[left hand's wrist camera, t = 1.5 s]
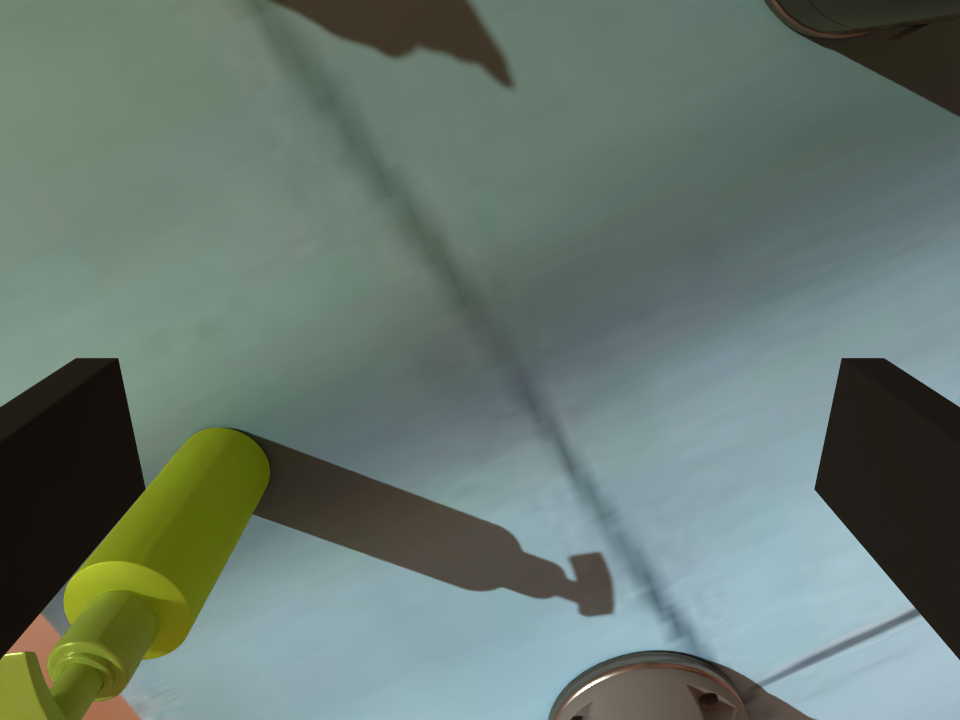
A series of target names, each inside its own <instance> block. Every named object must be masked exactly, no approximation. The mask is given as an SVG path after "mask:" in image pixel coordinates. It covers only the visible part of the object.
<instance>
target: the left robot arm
mask: <svg viewBox="0 0 960 720" xmlns="http://www.w3.org/2000/svg"><path fill="white" fill-rule="evenodd" d="M144 491H145V484H144V479H143V475H142V470H141V465H140V460H139V455H138V451H137V446H136V441H135V436H134V432H133V427H132V422H131V417H130V412H129V408H128V403H127V398H126V393H125V389H124V384H123V379H122V374H121V369H120V365H119V360H118V358H76V359H74V360H73V361H71V362H69V363H68V364H66V365H65V366H63V367H62V368H60V369H59V370H57V371H56V372H54V373H52V374H51V375H49V376H48V377H46V378H45V379H43V380H42V381H40V382H39V383H37V384H35V385H34V386H32V387H31V388H29V389H28V390H26V391H25V392H23V393H22V394H20V395H18V396H17V397H15V398H14V399H12V400H11V401H9V402H8V403H6V404H5V405H3V406H1V407H0V660H1V658H2V657H3V656H4V655H5V654H6V653H7V651H8V650H9V649H10V648H11V647H12V646H13V644H14V643H15V642H16V641H17V640H18V638H19V637H20V636H21V635H22V634H23V633H24V631H25V630H26V629H27V628H28V627H29V626H30V624H31V623H32V622H33V621H34V620H35V619H36V617H37V616H38V615H39V614H40V613H41V611H42V610H43V609H44V608H45V607H46V606H47V604H48V603H49V602H50V601H51V600H52V599H53V597H54V596H55V595H56V594H57V593H58V592H59V590H60V589H61V588H62V587H63V586H64V584H65V583H66V582H67V581H68V580H69V579H70V577H71V576H72V575H73V574H74V573H75V572H76V570H77V569H78V568H79V567H80V566H81V565H82V563H83V562H84V561H85V560H86V559H87V557H88V556H89V555H90V554H91V553H92V552H93V550H94V549H95V548H96V547H97V546H98V545H99V543H100V542H101V541H102V540H103V539H104V538H105V536H106V535H107V534H108V533H109V532H110V530H111V529H112V528H113V527H114V526H115V525H116V523H117V522H118V521H119V520H120V519H121V518H122V516H123V515H124V514H125V513H126V512H127V511H128V509H129V508H130V507H131V506H132V505H133V503H134V502H135V501H136V500H137V499H138V498H139V496H140V495H141V494H142V493H143V492H144ZM815 491H816V492H817V493H818V494H819V495H820V496H821V498H822V499H823V500H824V501H825V502H826V503H827V505H828V506H829V507H830V508H831V509H832V511H833V512H834V513H835V514H836V515H837V516H838V518H839V519H840V520H841V521H842V522H843V523H844V525H845V526H846V527H847V528H848V529H849V530H850V532H851V533H852V534H853V535H854V536H855V538H856V539H857V540H858V541H859V542H860V543H861V545H862V546H863V547H864V548H865V549H866V550H867V552H868V553H869V554H870V555H871V556H872V557H873V559H874V560H875V561H876V562H877V563H878V565H879V566H880V567H881V568H882V569H883V570H884V572H885V573H886V574H887V575H888V576H889V577H890V579H891V580H892V581H893V582H894V583H895V584H896V586H897V587H898V588H899V589H900V590H901V592H902V593H903V594H904V595H905V596H906V597H907V599H908V600H909V601H910V602H911V603H912V604H913V606H914V607H915V608H916V609H917V610H918V611H919V613H920V614H921V615H922V616H923V617H924V619H925V620H926V621H927V622H928V623H929V624H930V626H931V627H932V628H933V629H934V630H935V631H936V633H937V634H938V635H939V636H940V637H941V638H942V640H943V641H944V642H945V643H946V644H947V646H948V647H949V648H950V649H951V650H952V651H953V653H954V654H955V655H956V656H957V657H958V658H959V660H960V407H959V406H957V405H955V404H954V403H952V402H951V401H949V400H948V399H946V398H945V397H943V396H942V395H940V394H938V393H937V392H935V391H934V390H932V389H931V388H929V387H928V386H926V385H925V384H923V383H921V382H920V381H918V380H917V379H915V378H914V377H912V376H911V375H909V374H908V373H906V372H904V371H903V370H901V369H900V368H898V367H897V366H895V365H894V364H892V363H891V362H889V361H887V360H886V359H884V358H842V360H841V365H840V369H839V374H838V379H837V384H836V389H835V393H834V398H833V403H832V408H831V412H830V417H829V422H828V427H827V432H826V436H825V441H824V446H823V451H822V455H821V460H820V465H819V470H818V475H817V479H816V484H815ZM548 720H750V719H749V716H748V713H747V710H746V708H745V706H744V703H743V701H742V699H741V696H740V694H739V693H738V691H737V689H736V687H735V686H734V685H733V683H732V682H731V681H730V680H729V679H728V678H727V677H726V676H725V675H724V674H723V673H722V672H720V671H719V670H717V669H716V668H715V667H713V666H711V665H709V664H708V663H705V662H703V661H701V660H699V659H696V658H693V657H690V656H686V655H682V654H676V653H670V652H640V653H633V654H627V655H623V656H619V657H616V658H612V659H609V660H607V661H604V662H601V663H599V664H597V665H595V666H593V667H591V668H590V669H588V670H586V671H584V672H583V673H582V674H580V675H579V676H577V677H576V678H575V679H574V680H572V681H571V682H570V683H569V684H568V685H567V686H566V687H565V688H564V689H563V691H562V692H561V693H560V694H559V696H558V697H557V699H556V701H555V702H554V704H553V706H552V709H551V711H550V714H549V718H548Z"/></svg>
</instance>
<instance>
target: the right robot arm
mask: <svg viewBox="0 0 960 720" xmlns="http://www.w3.org/2000/svg"><path fill="white" fill-rule="evenodd" d="M765 2H766V4H767V5H768V7H769V8H770V9H771V11H772V12H773V13H774V14H775V15H776V16H777V17H778V18H779V19H780V20H781V21H782V22H783V23H784V24H786V25H787V26H789V27H790V28H792V29H794V30H796V31H798V32H800V33H802V34H805V35H808V36H812V37H816V38H823V39H838V38H847V37H853V36H858V35H863V34H866V33H869V32H872V31H879V30H886V29H892V28H899V27H906V26H912V27H910V28H908V29H906V30H904V31H902V32H900V33H898V34H897V35H895V36H893V37H891V38H889V39H887V40H895V39H900V38H902V37H903V36H905V35H907V34H909V33H911V32H913V31H915V30H917V29H919V28H921V27H923V26H925V25H927V24H929V23H933V22H940V21H947V20H954V19H960V0H765ZM913 25H914V26H913ZM885 41H886V40H885Z"/></svg>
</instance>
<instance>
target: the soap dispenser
mask: <svg viewBox="0 0 960 720" xmlns="http://www.w3.org/2000/svg"><path fill="white" fill-rule="evenodd" d="M269 479H270V466H269V462H268V459H267V457H266V455H265V453H264V451H263V450H262V449H261V447H260V446H259V445H258V444H257V443H256V442H255V441H254V440H252V439H251V438H250V437H248V436H246V435H245V434H243V433H241V432H238V431H235V430H232V429H227V428H210V429H205V430H202V431H200V432H197V433H196V434H194V435H192V436H191V437H190V438H189V439H188V440H187V441H186V442H185V443H184V444H183V446H182V447H181V448H180V449H179V450H178V452H177V453H176V454H175V455H174V456H173V458H172V459H171V460H170V461H169V462H168V464H167V465H166V466H165V467H164V468H163V470H162V471H161V472H160V473H159V474H158V476H157V477H156V478H155V479H154V480H153V482H152V483H151V484H150V485H149V486H148V488H147V489H146V490H145V491H144V492H143V494H142V495H141V496H140V497H139V498H138V500H137V501H136V502H135V503H134V504H133V506H132V507H131V508H130V509H129V510H128V512H127V513H126V514H125V515H124V516H123V518H122V519H121V520H120V521H119V522H118V524H117V525H116V526H115V527H114V528H113V530H112V531H111V532H110V533H109V534H108V536H107V537H106V538H105V539H104V540H103V542H102V543H101V544H100V545H99V546H98V548H97V549H96V550H95V551H94V552H93V554H92V555H91V556H90V557H89V558H88V560H87V561H86V562H85V563H84V564H83V566H82V567H81V568H80V569H79V570H78V572H77V573H76V574H75V575H74V576H73V578H72V579H71V580H70V582H69V583H68V585H67V587H66V590H65V594H64V609H65V613H66V616H67V618H68V620H69V622H70V624H71V626H70V628H69V629H68V630H67V632H66V633H65V634H64V635H63V637H62V638H61V639H60V641H59V642H58V643H57V645H56V646H55V647H54V649H53V650H52V652H51V653H50V655H49V657H48V660H47V670H48V674H49V676H50V678H51V680H52V681H53V683H54V684H53V685H52V687H51V688H50V690H49V689H48V687H47V684H46V682H45V680H44V677H43V674H42V671H41V668H40V665H39V662H38V659H37V656H36V653H34V652H18V653H11V654H5V655H4V656H3V657H2V658H1V660H0V720H82V718H83V716H84V715H85V713H86V712H87V710H88V709H89V707H90V705H91V704H92V702H93V701H104V700H108V699H111V698H114V697H115V696H117V695H119V694H120V693H121V692H122V691H123V690H124V689H125V687H126V686H127V684H128V683H129V681H130V679H131V678H132V676H133V674H134V673H135V671H136V669H137V667H138V666H139V664H140V662H141V661H142V660H145V659H153V658H157V657H161V656H163V655H166V654H168V653H170V652H172V651H173V650H175V649H176V648H177V647H179V646H180V645H181V644H182V643H183V641H184V640H185V639H186V637H187V635H188V633H189V631H190V630H191V628H192V626H193V624H194V622H195V620H196V618H197V617H198V615H199V613H200V611H201V609H202V607H203V605H204V603H205V602H206V600H207V598H208V596H209V594H210V592H211V590H212V589H213V587H214V585H215V583H216V581H217V579H218V577H219V575H220V574H221V572H222V570H223V568H224V566H225V564H226V562H227V561H228V559H229V557H230V555H231V553H232V551H233V549H234V547H235V546H236V544H237V542H238V540H239V538H240V536H241V534H242V532H243V531H244V529H245V527H246V525H247V523H248V521H249V519H250V518H251V516H252V514H253V512H254V510H255V508H256V506H257V504H258V503H259V501H260V499H261V497H262V495H263V493H264V491H265V490H266V488H267V486H268V483H269Z"/></svg>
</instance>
